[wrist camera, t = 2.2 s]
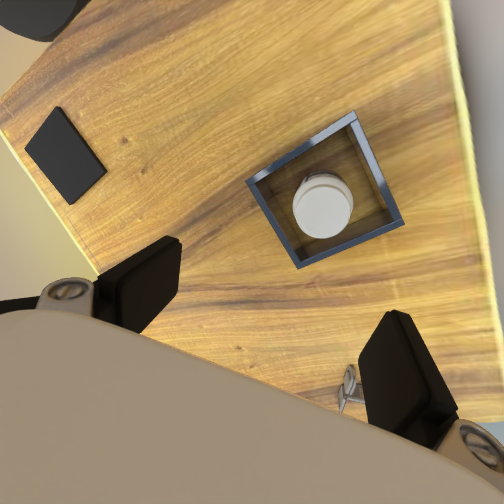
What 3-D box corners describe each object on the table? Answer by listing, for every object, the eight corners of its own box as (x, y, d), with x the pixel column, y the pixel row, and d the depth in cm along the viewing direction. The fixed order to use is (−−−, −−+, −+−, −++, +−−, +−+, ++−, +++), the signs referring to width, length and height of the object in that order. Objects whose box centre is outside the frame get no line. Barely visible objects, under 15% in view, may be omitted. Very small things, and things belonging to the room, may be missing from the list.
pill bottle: (323, 224, 31) (326, 256, 23) (288, 197, 31) (276, 219, 22) (356, 187, 29) (373, 208, 20) (318, 158, 28) (317, 166, 20)
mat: (27, 148, 38) (23, 148, 37) (59, 106, 34) (55, 106, 33) (72, 204, 40) (69, 205, 40) (107, 171, 36) (104, 172, 35)
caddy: (255, 175, 31) (244, 181, 27) (348, 114, 26) (354, 109, 22) (300, 253, 34) (297, 269, 29) (392, 211, 29) (405, 224, 24)
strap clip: (350, 379, 37) (380, 387, 36) (348, 363, 39) (376, 369, 39) (338, 413, 41) (365, 421, 40) (336, 396, 43) (361, 403, 42)
